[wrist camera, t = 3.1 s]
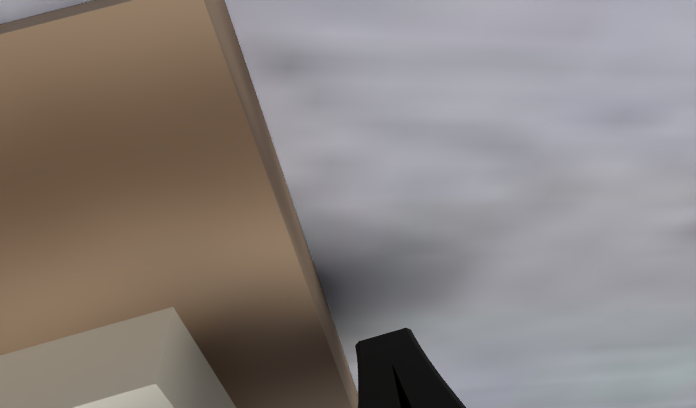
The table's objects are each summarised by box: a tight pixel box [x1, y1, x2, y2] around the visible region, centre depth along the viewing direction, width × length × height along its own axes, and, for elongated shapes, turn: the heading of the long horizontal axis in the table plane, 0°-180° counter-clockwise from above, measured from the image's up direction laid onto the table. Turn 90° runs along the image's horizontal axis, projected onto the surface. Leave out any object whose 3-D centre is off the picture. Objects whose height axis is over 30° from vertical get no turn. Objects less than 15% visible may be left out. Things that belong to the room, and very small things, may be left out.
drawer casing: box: [0, 0, 358, 408], centre depth 13 cm, size 18×16×3 cm
